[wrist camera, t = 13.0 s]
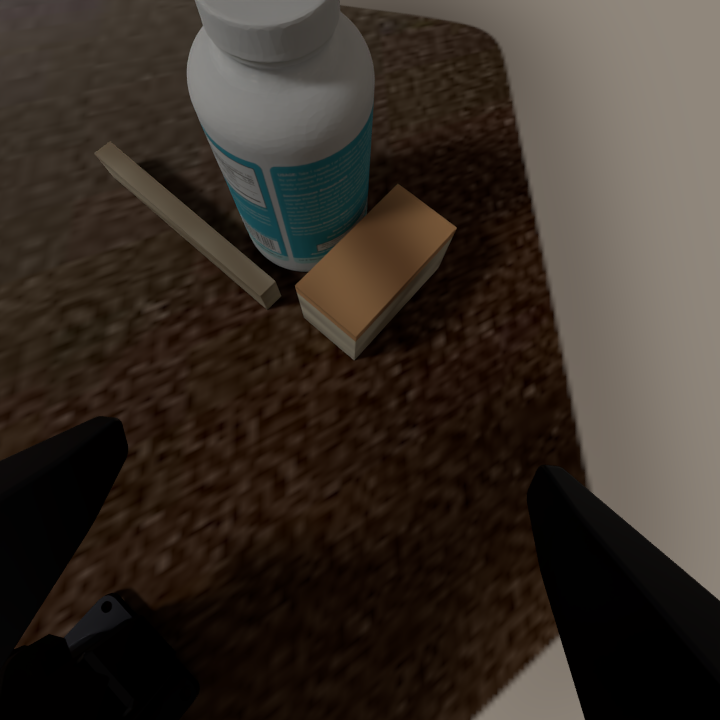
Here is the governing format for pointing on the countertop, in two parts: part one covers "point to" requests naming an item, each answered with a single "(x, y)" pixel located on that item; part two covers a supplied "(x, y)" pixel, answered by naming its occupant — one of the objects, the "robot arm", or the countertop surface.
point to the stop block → (374, 270)
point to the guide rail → (190, 226)
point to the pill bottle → (286, 119)
